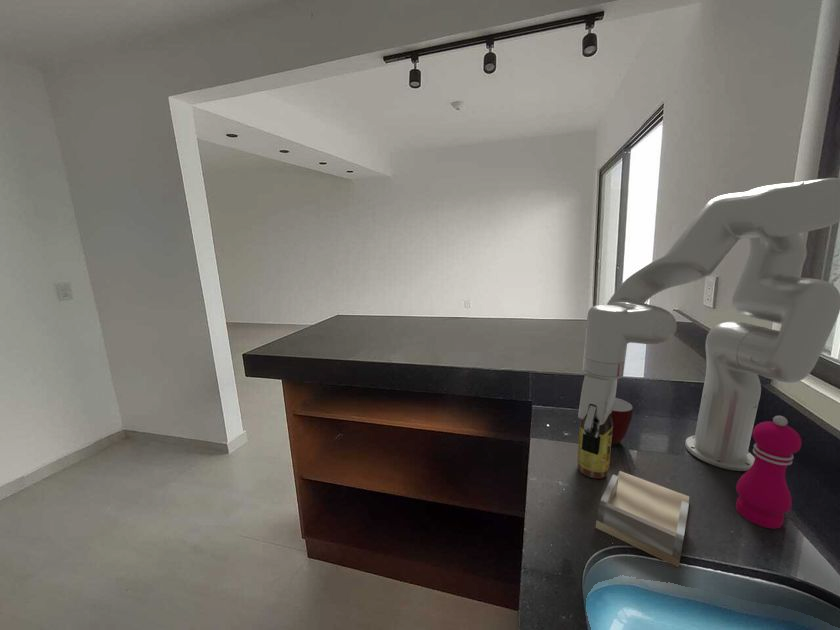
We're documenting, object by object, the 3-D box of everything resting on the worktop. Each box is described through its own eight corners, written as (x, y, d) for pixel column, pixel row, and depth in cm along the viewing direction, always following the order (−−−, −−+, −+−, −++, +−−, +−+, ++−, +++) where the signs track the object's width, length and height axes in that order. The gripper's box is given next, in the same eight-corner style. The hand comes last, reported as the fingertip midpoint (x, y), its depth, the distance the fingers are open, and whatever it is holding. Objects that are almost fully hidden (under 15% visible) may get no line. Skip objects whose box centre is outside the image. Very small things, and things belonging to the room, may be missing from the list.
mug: (577, 430, 93) (580, 395, 91) (600, 424, 96) (603, 390, 94) (611, 452, 84) (616, 414, 82) (635, 445, 87) (641, 407, 85)
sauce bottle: (612, 482, 74) (622, 394, 69) (580, 478, 75) (588, 392, 71) (602, 462, 80) (611, 381, 76) (573, 459, 81) (580, 379, 77)
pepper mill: (792, 538, 60) (820, 432, 56) (736, 520, 64) (758, 420, 59) (778, 510, 66) (803, 412, 62) (728, 496, 70) (748, 402, 65)
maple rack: (619, 475, 76) (621, 456, 75) (688, 502, 68) (692, 480, 67) (595, 527, 63) (598, 504, 62) (678, 567, 55) (683, 542, 54)
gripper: (595, 351, 81) (588, 422, 85) (570, 374, 68) (563, 456, 72) (632, 358, 76) (623, 433, 80) (613, 384, 63) (602, 471, 67)
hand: (594, 443), depth 76 cm, fingers closed on sauce bottle, 6 cm apart
